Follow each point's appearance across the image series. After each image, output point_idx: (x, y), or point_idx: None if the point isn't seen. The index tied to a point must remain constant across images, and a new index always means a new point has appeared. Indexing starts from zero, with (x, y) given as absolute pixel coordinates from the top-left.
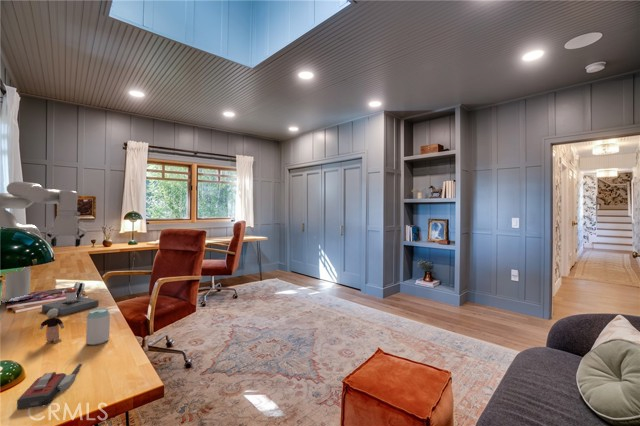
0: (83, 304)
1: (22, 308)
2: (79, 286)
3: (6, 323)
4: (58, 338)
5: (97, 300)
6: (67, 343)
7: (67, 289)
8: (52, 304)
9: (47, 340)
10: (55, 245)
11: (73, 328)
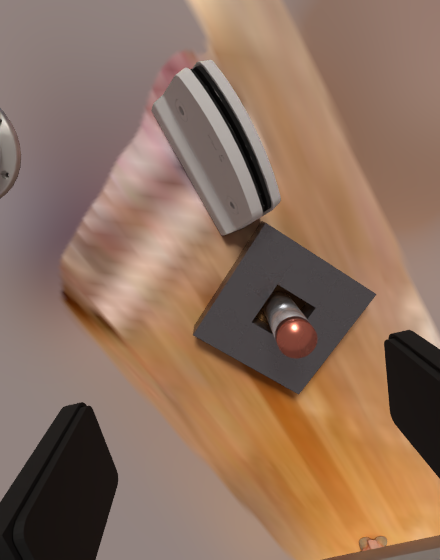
0: (339, 340)
1: (100, 286)
2: (257, 191)
3: (173, 426)
4: None
5: (373, 297)
6: None
7: (287, 353)
8: (227, 333)
9: None
10: (98, 436)
11: (377, 477)
